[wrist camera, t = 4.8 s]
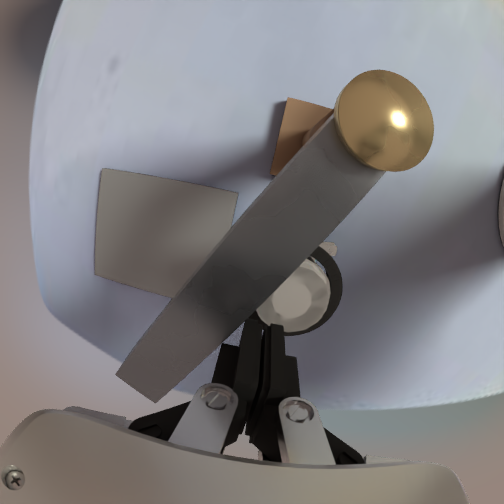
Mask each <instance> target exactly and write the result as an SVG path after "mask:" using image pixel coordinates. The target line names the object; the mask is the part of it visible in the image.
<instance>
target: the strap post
mask: <svg viewBox="0 0 504 504" xmlns="http://www.w3.org/2000/svg"><path fill="white" fill-rule="evenodd" d="M333 113H334V109H330V108H326V107H323V106H319V105H316V104H312V103H309V102H305V101H301V100H297V99H293V98H289V97H288V99H287V103H286V107H285V111H284V116H283V120H282V124H281V128H280V133H279V137H278V141H277V145H276V150H275V154H274V158H273V162H272V167H271V171H270V174H272V175H276V176H277V174H278V173H279V172H280V171H281V170H282V169H283V168H284V167H285V166H286V164H287V163H288V162H289V161H290V160H291V159H292V158H293V157H294V155H295V154H296V153H297V152H298V151H299V150H300V149H301V148H302V147H303V146H304V144H305V143H306V142H307V141H308V140H309V139H310V138H311V137H312V136H313V135H314V134H315V132H316V131H317V130H318V129H319V128H320V127H321V126H322V125H323V124H324V123H325V122H326V121H327V120H328V118H329V117H330V116H331V115H332V114H333Z"/></svg>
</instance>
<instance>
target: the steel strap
mask: <svg viewBox="0 0 504 504" xmlns="http://www.w3.org/2000/svg"><path fill="white" fill-rule="evenodd" d="M433 134H434V124H433V118H432V114H431V110H430V108H429V105H428V103H427V101H426V100H425V98H424V96H423V95H422V93H421V92H420V91H419V90H418V89H417V88H416V87H415V86H414V85H413V84H412V83H411V82H410V81H408V80H407V79H406V78H404V77H402V76H400V75H398V74H396V73H393V72H390V71H385V70H380V69H379V70H371V71H367V72H364V73H362V74H360V75H358V76H356V77H355V78H354V79H353V80H351V81H350V82H349V83H348V84H347V85H346V86H345V87H344V89H343V90H342V91H341V92H340V94H339V96H338V98H337V100H336V103H335V107H334V113H333V114H332V115H331V116H330V117H329V118H328V120H327V121H326V122H325V123H324V124H323V125H322V126H321V127H320V128H319V129H318V130H317V131H316V132H315V134H314V135H313V136H312V137H311V138H310V139H309V140H308V141H307V142H306V143H305V144H304V146H303V147H302V148H301V149H300V150H299V151H298V152H297V153H296V154H295V155H294V157H293V158H292V159H291V160H290V161H289V162H288V163H287V164H286V166H285V167H284V168H283V169H282V170H281V171H280V172H279V173H278V174H277V176H276V177H275V178H274V179H273V180H272V181H271V182H270V184H269V185H268V186H267V187H266V188H265V189H264V190H263V191H262V193H261V194H260V195H259V196H258V197H257V198H256V199H255V201H254V202H253V203H252V204H251V205H250V206H249V208H248V209H247V210H246V211H245V212H244V213H243V214H242V216H241V217H240V218H239V219H238V220H237V221H236V223H235V224H234V225H233V226H232V227H231V228H230V230H229V231H228V232H227V233H226V234H225V236H224V237H223V238H222V239H221V240H220V241H219V243H218V244H217V245H216V246H215V247H214V249H213V250H212V251H211V252H210V253H209V255H208V256H207V257H206V258H205V259H204V261H203V262H202V263H201V264H200V265H199V267H198V268H197V269H196V270H195V271H194V273H193V274H192V275H191V276H190V277H189V279H188V280H187V281H186V282H185V284H184V285H183V286H182V287H181V288H180V290H179V291H178V292H177V293H176V295H175V296H174V297H173V298H172V300H171V301H170V302H169V303H168V305H167V306H166V307H165V308H164V310H163V311H162V312H161V313H160V315H159V316H158V317H157V318H156V320H155V321H154V322H153V323H152V325H151V326H150V327H149V328H148V330H147V331H146V332H145V333H144V335H143V336H142V337H141V339H140V340H139V341H138V342H137V344H136V345H135V346H134V348H133V349H132V351H131V352H130V353H129V355H128V356H127V358H126V359H125V361H124V362H123V364H122V365H121V367H120V368H119V370H118V371H117V373H116V376H118V377H119V378H120V379H122V380H123V381H124V382H126V383H127V384H128V385H130V386H131V387H133V388H134V389H136V390H137V391H138V392H140V393H141V394H143V395H144V396H145V397H147V398H148V399H150V400H151V401H153V402H154V403H156V402H158V401H159V400H160V399H161V398H162V397H163V396H165V395H166V394H167V393H168V392H169V391H170V390H171V389H172V388H174V387H175V386H176V385H177V384H178V383H179V382H180V381H181V380H182V379H184V378H185V377H186V376H187V375H188V374H189V373H190V372H191V371H192V370H193V369H194V368H196V367H197V366H198V365H199V364H200V363H201V362H202V361H203V360H204V359H205V358H206V357H207V356H209V355H210V354H211V353H212V352H213V351H214V350H215V349H216V348H217V347H218V346H219V345H220V344H221V343H222V342H223V341H224V340H225V339H227V338H228V337H229V336H230V335H231V334H232V333H233V332H234V331H235V330H236V329H237V328H238V327H239V326H240V325H241V324H242V323H243V322H244V321H245V320H246V319H247V318H248V317H249V316H250V315H251V314H252V313H253V312H254V311H255V310H256V309H257V308H258V307H260V306H261V305H262V304H263V303H264V302H265V301H266V300H267V299H268V298H269V297H270V296H271V295H272V294H273V293H274V292H275V291H276V290H277V289H278V288H279V287H280V285H281V284H282V283H283V282H284V281H285V280H286V279H287V278H288V277H289V276H290V275H291V274H292V273H293V272H294V271H295V270H296V269H297V268H298V267H299V266H300V265H301V264H302V263H303V262H304V261H305V260H306V259H307V258H308V257H309V256H310V255H311V254H312V252H313V251H314V250H315V249H316V248H317V247H318V246H319V245H320V244H321V243H322V242H323V241H324V240H325V239H326V238H327V237H328V236H329V234H330V233H331V232H332V231H333V230H334V229H335V228H336V227H337V226H338V225H339V224H340V223H341V222H342V220H343V219H344V218H345V217H346V216H347V215H348V214H349V213H350V212H351V211H352V209H353V208H354V207H355V206H356V205H357V204H358V203H359V202H360V201H361V199H362V198H363V197H364V196H365V195H366V194H367V193H368V192H369V191H370V189H371V188H372V187H373V186H374V185H375V184H376V183H377V181H378V180H379V179H380V178H381V177H382V176H383V175H384V173H385V172H386V171H393V172H397V171H404V170H408V169H410V168H412V167H414V166H416V165H417V164H419V163H420V162H421V161H422V160H423V159H424V158H425V156H426V155H427V153H428V151H429V149H430V147H431V144H432V141H433Z"/></svg>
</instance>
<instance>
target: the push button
mask: <svg viewBox="0 0 504 504" xmlns="http://www.w3.org/2000/svg"><path fill="white" fill-rule="evenodd" d="M329 248H330V249H329ZM336 251H337V246H334V243H333V242H322V243H321V244H320V245H319V246H318V247H317V248H316V249H315V250H314V251H313V252H312V254H311V255H310V256H309V257H308V258H307V259H306V260H305V261H304V262H303V263H302V264H301V265H300V266H299V267H298V268H297V269H296V270H295V271H294V272H293V273H292V274H291V275H290V276H289V277H288V278H287V279H286V280H285V281H284V282H283V283H282V284H281V285H280V287H279V288H278V289H277V290H276V291H275V292H274V293H273V294H272V295H271V296H270V297H269V298H268V299H267V300H266V301H265V302H264V303H263V304H262V305H261V306H260V307H258V308H257V309H256V310H255V311H254V312H253V313H252V314H251V315H250V316H249V317H248V318H249V319H253V320H258V324H261V325H262V329H263V330H264V328H265V326H270V324H271V323H273V324H278V325H283V326H284V336H295V335H301V334H305V333H308V332H310V331H312V330H315V329H316V328H318V327H320V326H321V325H323V324H324V323H325V322H326V321H327V320H328V319H329V318H330V317H331V316H332V315H333V313H334V312H335V310H336V309H337V307H338V305H339V302H340V300H341V296H342V277H341V273H340V270H339V268H338V266H337V264H336V263H335V261H334V260H333V258H332V257H331V256H335V255H336ZM329 252H331V253H329ZM316 260H317V261H319V262H320V263H321V264H322V265H323V266H324V268H325V270H326V274H325V273H324V272H323V270H322V269H321V267H319V266H318V265H317V263H316Z"/></svg>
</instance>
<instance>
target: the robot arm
mask: <svg viewBox="0 0 504 504" xmlns="http://www.w3.org/2000/svg"><path fill="white" fill-rule="evenodd" d="M499 229H500V236H501V240H502V244H503V247H504V180H503V183H502V188H501V192H500V200H499ZM261 338H262V339H261ZM245 424H246V431H245V435H249V436H250V440H249V443H253V444H254V445H255V446H256V447H257V448H258V449H259V451H258V459H259V460H254V459H247V458H241V457H235V456H228V455H223V453H224V450H225V447H226V446H228V445H230V444H232V443H234V442H236V441H237V438H238V435H239V434H242V432H243V429H244V426H245ZM0 504H471V503H470V501H469V498H468V495H467V493H466V491H465V489H464V487H463V485H462V483H461V481H460V479H459V478H458V476H457V475H456V473H455V472H454V471H453V470H452V469H450V468H449V467H447V466H444V465H441V464H437V463H432V462H421V461H409V460H405V459H395V458H386V457H378V456H371V455H366V456H365V457H362V456H361V455H360V454H359V453H358V452H357V451H356V450H354V449H353V448H351V447H350V446H349V445H347V444H346V443H344V442H343V441H342V440H340V439H339V438H337V437H336V436H335V435H333V434H332V433H330V432H329V431H328V430H327V429H325V428H324V427H323V425H322V422H321V419H320V417H319V414H318V410H317V409H316V407H315V406H314V405H313V404H312V403H311V402H310V401H308V400H306V399H303V398H300V388H299V378H298V368H297V359H296V357H292V356H286V355H285V340H284V326H283V325H278V324H273V323H271V324H270V326H265V328H264V332H263V335H262V325H261V324H258V320H253V319H248V318H247V319H246V320H245V323H244V327H243V331H242V336H241V340H240V344H239V347H238V346H233V345H229V344H224V343H222V345H221V349H220V352H219V356H218V360H217V363H216V367H215V371H214V375H213V378H212V382H211V383H210V384H205V385H203V386H201V387H200V388H199V389H198V390H197V392H196V394H195V395H194V397H193V399H192V401H189V402H187V403H184V404H181V405H178V406H175V407H172V408H169V409H166V410H163V411H160V412H157V413H153V414H150V415H147V416H144V417H141V418H138V419H136V420H134V421H131V420H126V417H123V416H117V415H112V414H107V413H103V412H98V411H93V410H89V409H85V408H81V407H75V406H72V407H68V408H65V409H64V410H55V409H45V410H40V411H37V412H34V413H32V414H31V415H29V416H28V417H27V418H25V419H24V420H23V421H22V422H21V423H20V424H19V425H18V426H17V427H16V428H15V429H14V430H13V431H12V433H11V434H10V435H9V436H8V437H7V439H6V440H5V441H4V443H3V444H2V445H1V447H0Z"/></svg>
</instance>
